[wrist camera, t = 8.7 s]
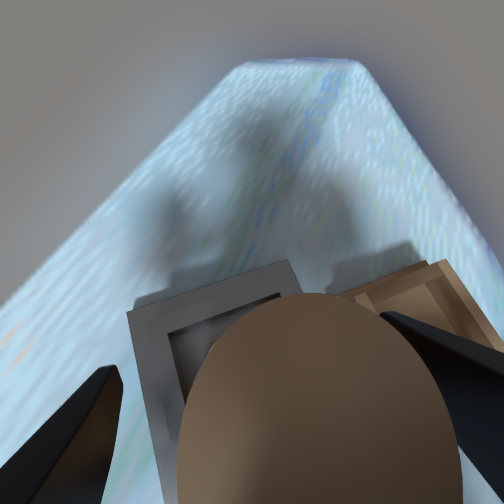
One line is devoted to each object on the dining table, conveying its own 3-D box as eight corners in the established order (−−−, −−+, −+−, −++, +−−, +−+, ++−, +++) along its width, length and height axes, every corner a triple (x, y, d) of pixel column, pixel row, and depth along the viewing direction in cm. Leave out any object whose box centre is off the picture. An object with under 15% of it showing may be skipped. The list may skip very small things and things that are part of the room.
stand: (489, 377, 18) (538, 383, 15) (392, 441, 16) (431, 461, 13) (416, 263, 21) (446, 251, 19) (325, 300, 19) (344, 292, 16)
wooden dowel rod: (295, 370, 15) (502, 432, 4) (241, 436, 14) (360, 821, 3) (245, 313, 16) (312, 248, 5) (187, 369, 14) (106, 445, 3)
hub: (354, 422, 16) (390, 441, 12) (175, 528, 12) (161, 590, 9) (283, 263, 19) (297, 246, 16) (131, 314, 16) (110, 306, 13)
